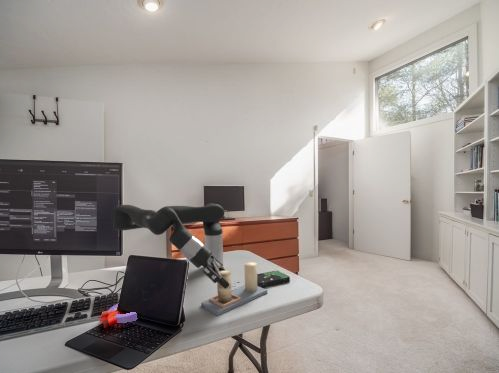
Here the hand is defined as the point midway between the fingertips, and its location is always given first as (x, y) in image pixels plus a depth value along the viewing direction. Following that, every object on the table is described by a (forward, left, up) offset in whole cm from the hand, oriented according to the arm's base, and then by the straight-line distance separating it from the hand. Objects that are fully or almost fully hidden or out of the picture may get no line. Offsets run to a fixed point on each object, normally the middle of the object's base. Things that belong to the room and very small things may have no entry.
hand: (228, 281), depth 93 cm
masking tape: (-16, -30, -8) cm, 35 cm away
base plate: (-1, +4, -8) cm, 9 cm away
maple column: (-1, -1, -7) cm, 7 cm away
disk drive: (-3, +26, -9) cm, 27 cm away
